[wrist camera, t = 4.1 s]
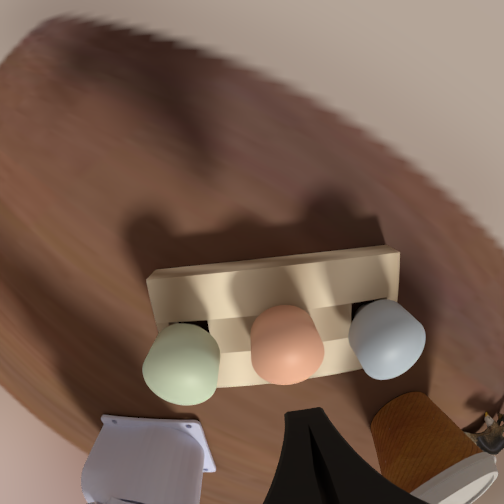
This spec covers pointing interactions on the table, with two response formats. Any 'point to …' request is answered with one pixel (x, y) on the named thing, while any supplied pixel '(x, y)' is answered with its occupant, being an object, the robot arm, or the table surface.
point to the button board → (275, 301)
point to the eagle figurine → (490, 436)
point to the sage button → (183, 364)
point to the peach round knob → (285, 345)
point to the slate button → (386, 339)
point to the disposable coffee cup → (429, 452)
